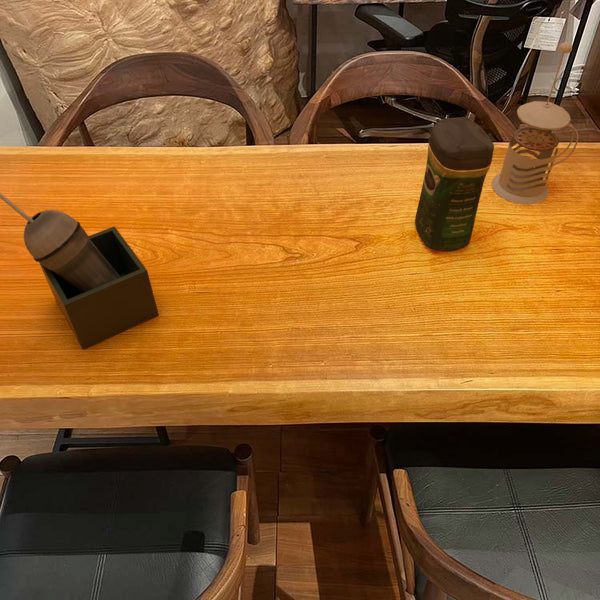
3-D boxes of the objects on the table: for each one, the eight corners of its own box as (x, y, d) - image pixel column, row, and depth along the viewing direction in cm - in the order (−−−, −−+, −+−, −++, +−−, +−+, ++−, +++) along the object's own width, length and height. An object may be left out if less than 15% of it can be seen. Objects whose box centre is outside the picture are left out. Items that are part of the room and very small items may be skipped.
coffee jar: (476, 251, 90) (506, 145, 77) (426, 257, 89) (448, 150, 76) (454, 213, 97) (479, 109, 84) (408, 218, 96) (426, 113, 83)
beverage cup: (130, 310, 77) (12, 194, 66) (89, 327, 79) (-30, 218, 68) (145, 275, 82) (38, 161, 71) (106, 292, 85) (-2, 185, 74)
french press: (484, 172, 105) (522, 29, 87) (548, 170, 106) (599, 28, 88) (500, 205, 98) (544, 57, 80) (568, 203, 99) (627, 56, 81)
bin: (55, 300, 83) (36, 255, 77) (127, 270, 88) (114, 225, 81) (82, 350, 77) (63, 305, 71) (159, 315, 81) (147, 270, 75)
